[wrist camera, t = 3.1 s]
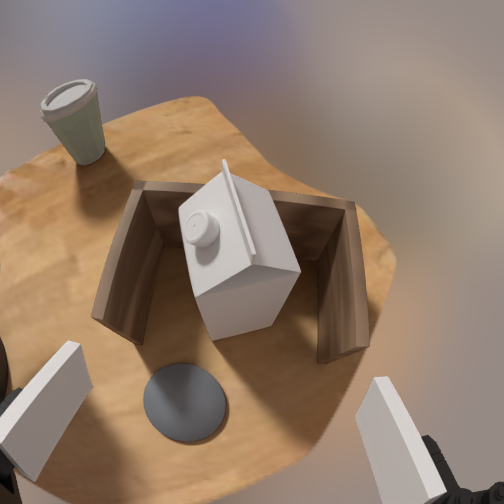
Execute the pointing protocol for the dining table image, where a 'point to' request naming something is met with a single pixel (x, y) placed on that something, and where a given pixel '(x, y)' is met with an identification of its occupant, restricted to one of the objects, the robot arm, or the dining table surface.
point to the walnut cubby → (301, 239)
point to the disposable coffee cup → (76, 119)
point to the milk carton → (236, 255)
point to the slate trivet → (184, 402)
